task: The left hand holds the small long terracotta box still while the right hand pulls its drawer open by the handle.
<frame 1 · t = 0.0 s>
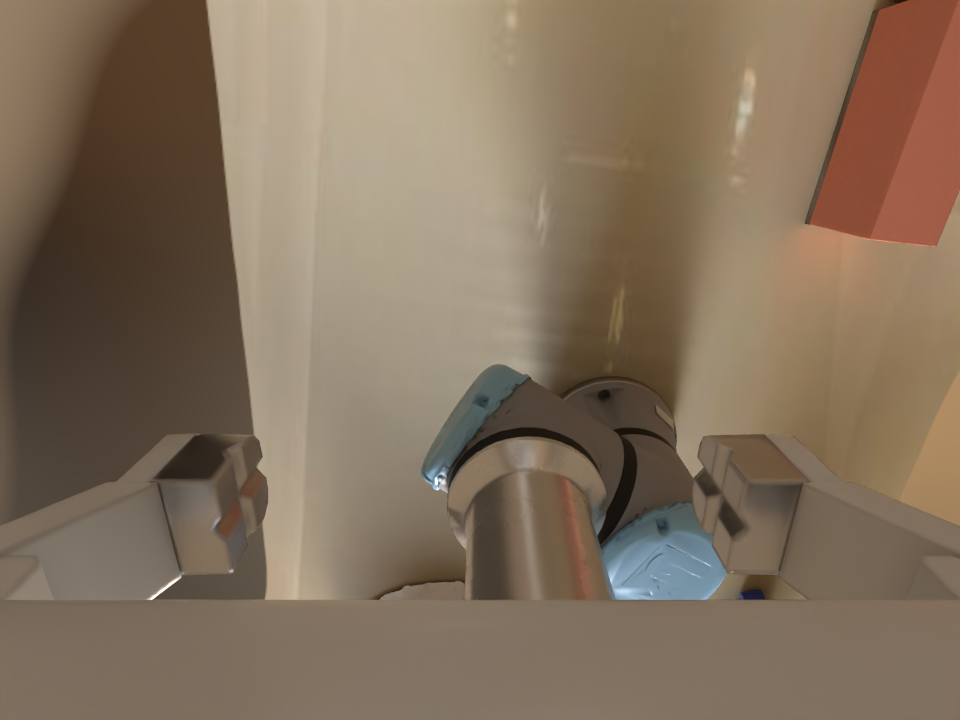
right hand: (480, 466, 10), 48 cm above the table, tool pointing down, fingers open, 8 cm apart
long terracotta box: (866, 128, 52), on the table
decorative plaque: (452, 669, 79), on the table
drawer: (927, 62, 46), point 5 cm above the table, slide at 0.6 cm
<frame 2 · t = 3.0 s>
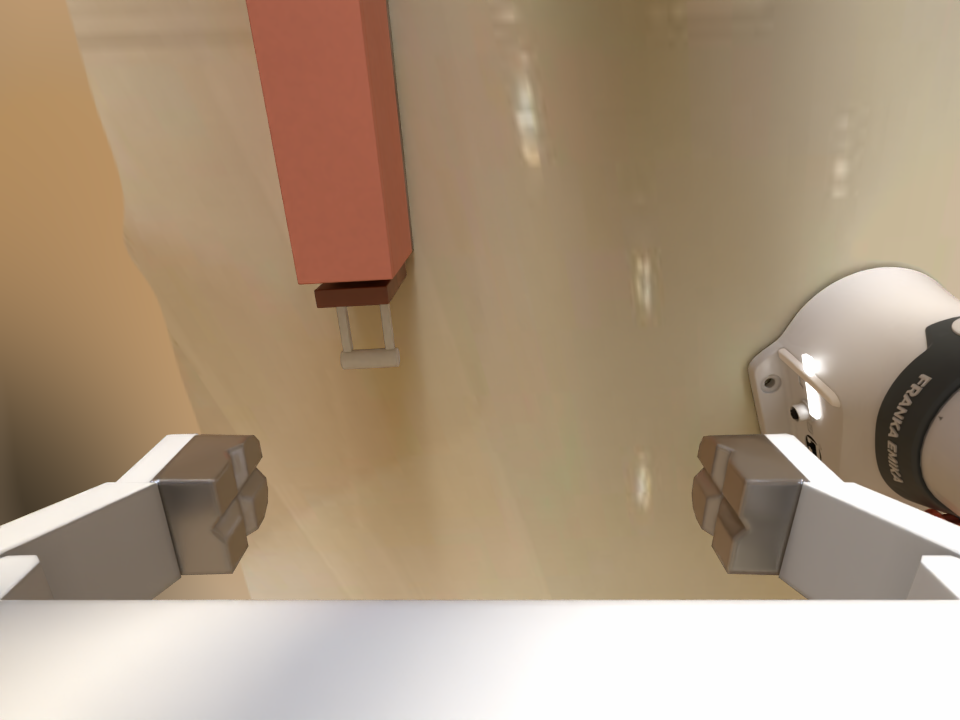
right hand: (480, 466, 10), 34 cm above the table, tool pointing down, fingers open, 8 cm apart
long terracotta box: (359, 122, 39), on the table
drawer: (353, 201, 36), point 5 cm above the table, slide at 0.6 cm
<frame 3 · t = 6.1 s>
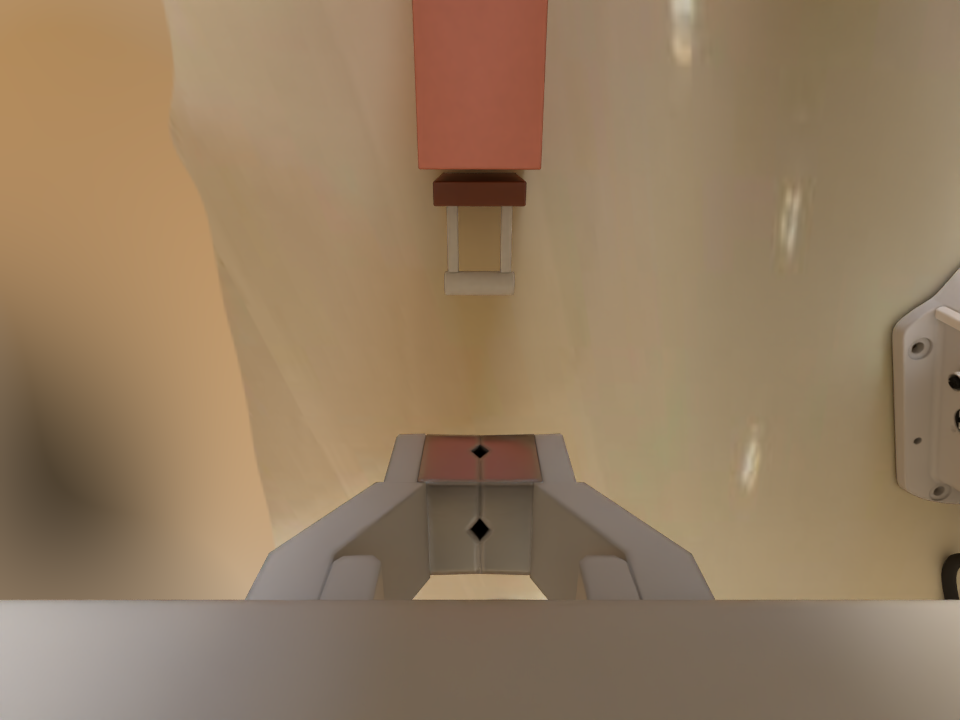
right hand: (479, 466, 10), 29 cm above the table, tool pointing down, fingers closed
drawer: (479, 79, 29), point 5 cm above the table, slide at 0.6 cm
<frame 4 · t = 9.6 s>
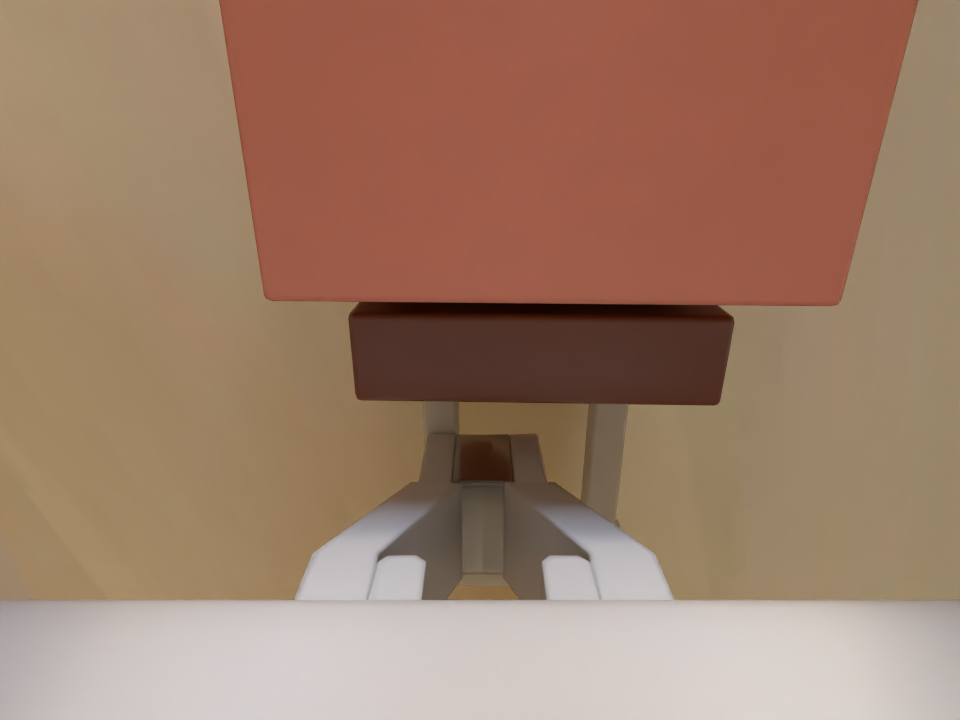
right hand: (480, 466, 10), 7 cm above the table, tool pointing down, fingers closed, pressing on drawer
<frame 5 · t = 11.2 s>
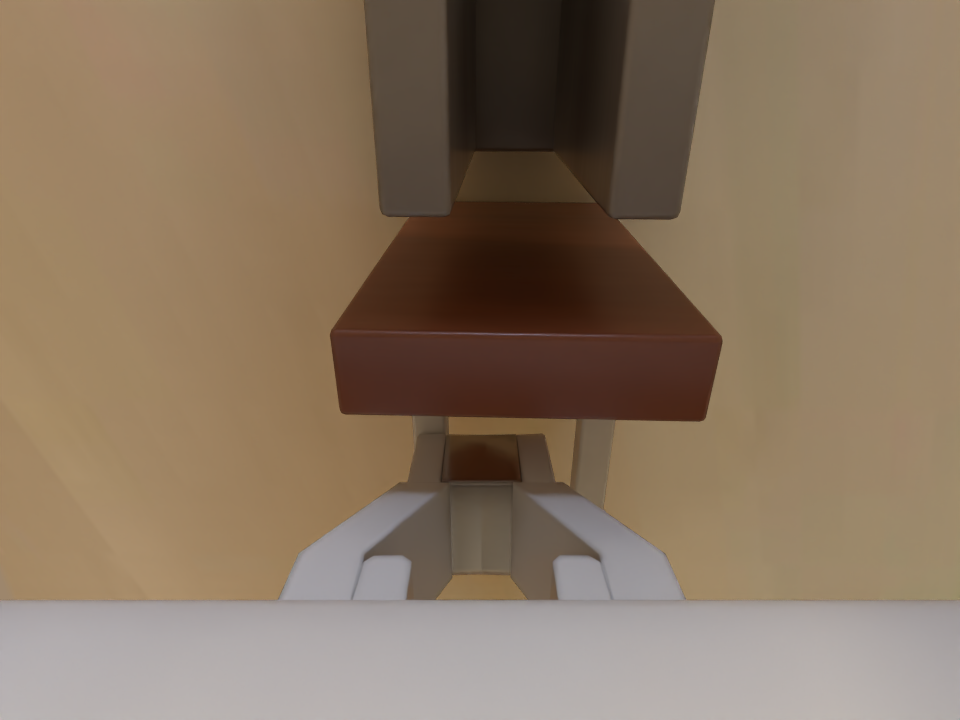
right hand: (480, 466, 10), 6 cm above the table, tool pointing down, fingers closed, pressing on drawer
when the left hand's fingers open (4 cm above the table, at t = 12.8 s): long terracotta box stays where it is, on the table.
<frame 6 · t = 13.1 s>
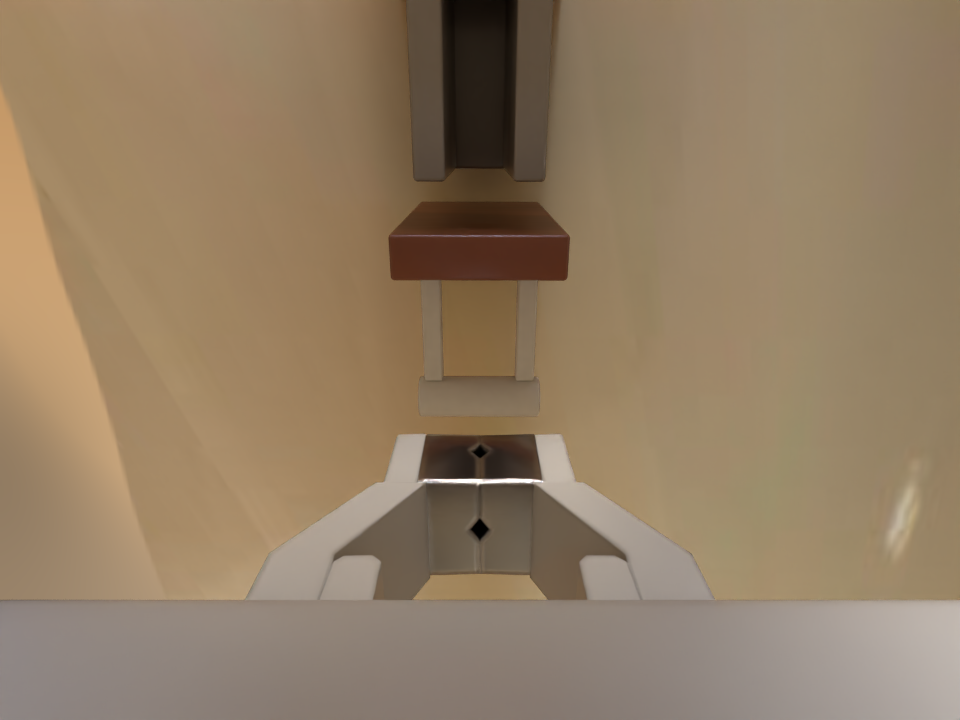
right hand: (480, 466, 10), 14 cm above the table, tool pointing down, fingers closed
drawer: (479, 41, 16), point 5 cm above the table, slide at 7.0 cm
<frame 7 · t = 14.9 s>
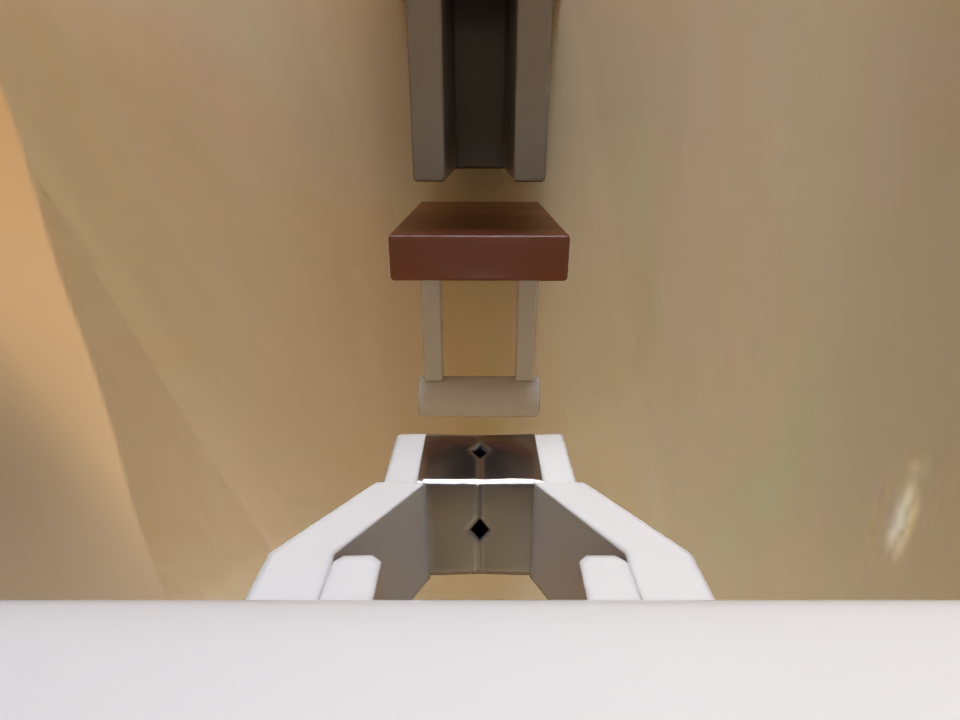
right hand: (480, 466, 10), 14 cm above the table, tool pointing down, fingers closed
drawer: (479, 41, 16), point 5 cm above the table, slide at 7.0 cm
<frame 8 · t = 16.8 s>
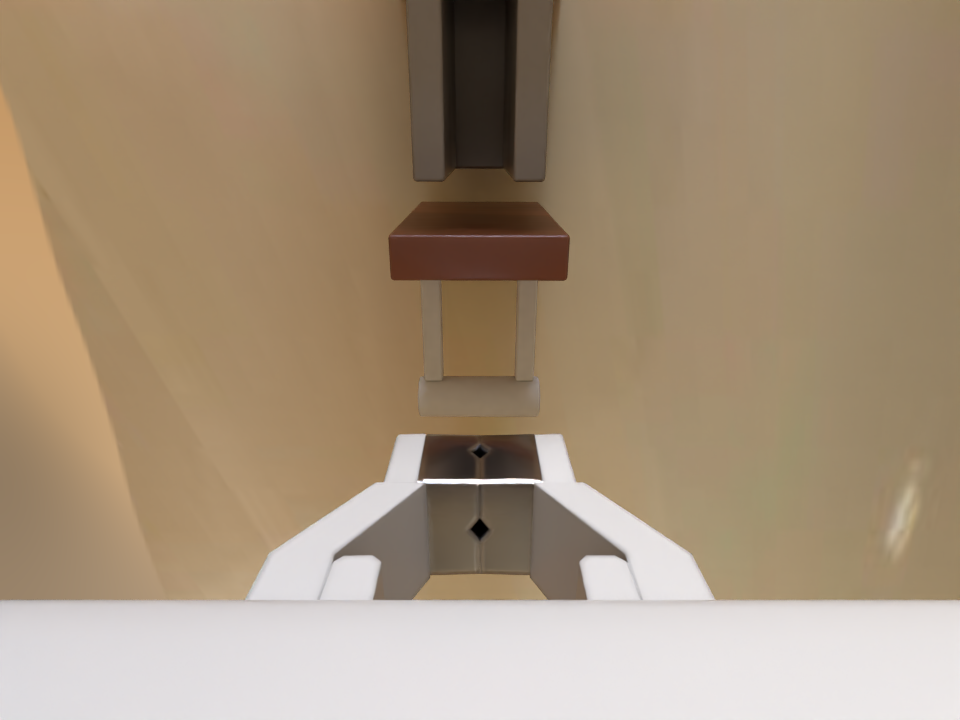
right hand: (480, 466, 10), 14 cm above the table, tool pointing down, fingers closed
drawer: (479, 41, 16), point 5 cm above the table, slide at 7.0 cm
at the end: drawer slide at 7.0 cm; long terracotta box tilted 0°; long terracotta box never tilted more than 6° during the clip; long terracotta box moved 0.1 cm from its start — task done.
